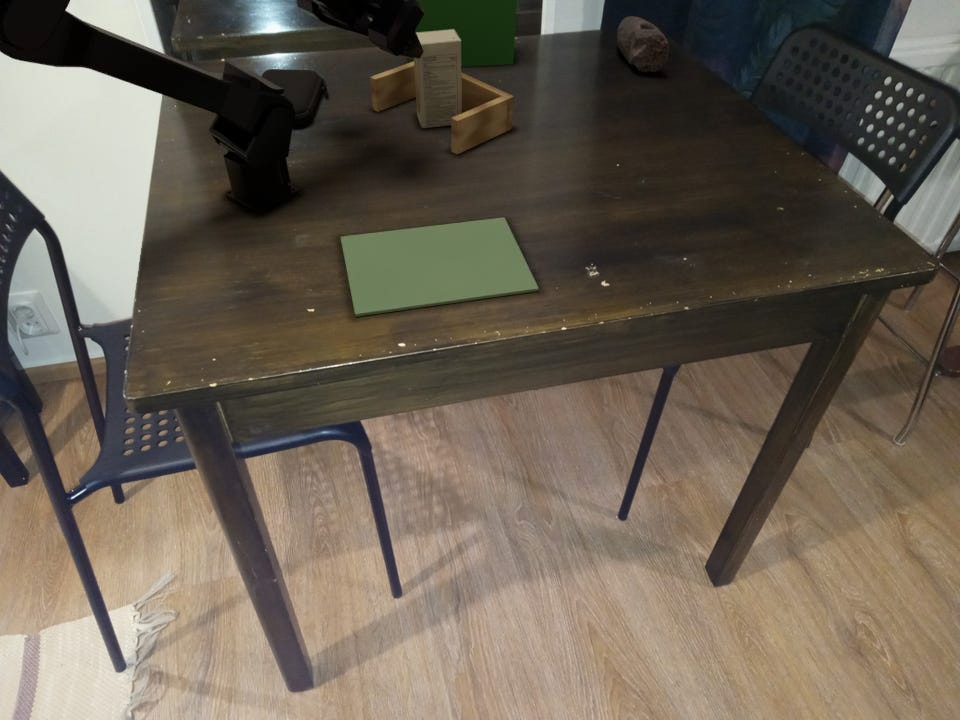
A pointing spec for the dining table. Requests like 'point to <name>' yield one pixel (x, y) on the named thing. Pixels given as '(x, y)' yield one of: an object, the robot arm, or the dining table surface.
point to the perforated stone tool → (642, 44)
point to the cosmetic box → (438, 78)
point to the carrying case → (298, 89)
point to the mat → (434, 266)
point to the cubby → (480, 102)
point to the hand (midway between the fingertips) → (397, 44)
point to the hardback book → (475, 28)
